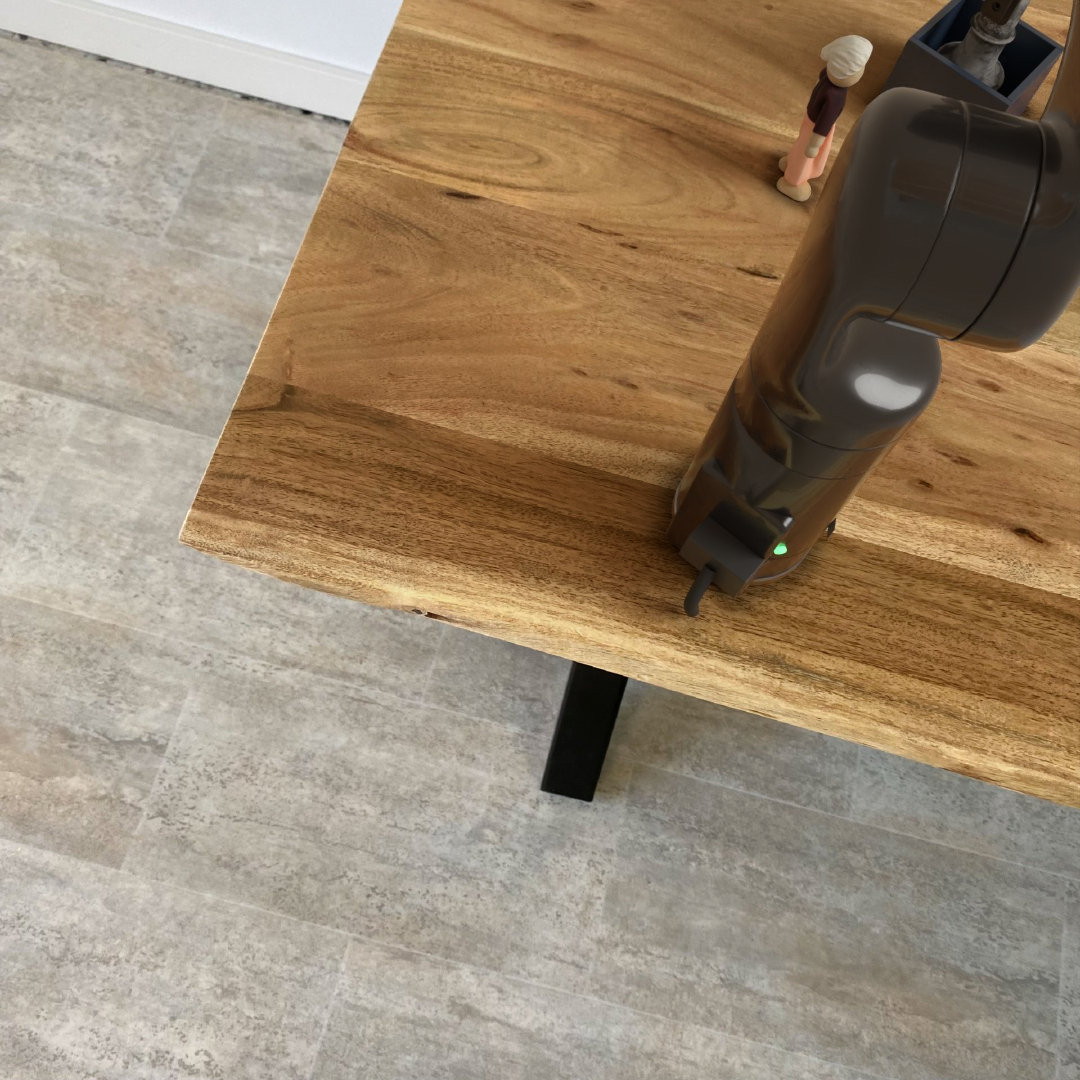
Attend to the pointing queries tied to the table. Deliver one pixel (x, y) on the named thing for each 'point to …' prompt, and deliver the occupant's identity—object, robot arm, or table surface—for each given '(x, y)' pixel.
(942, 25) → the bin
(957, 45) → the grey chess piece
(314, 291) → the table surface
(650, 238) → the table surface
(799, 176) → the grandmother figurine
